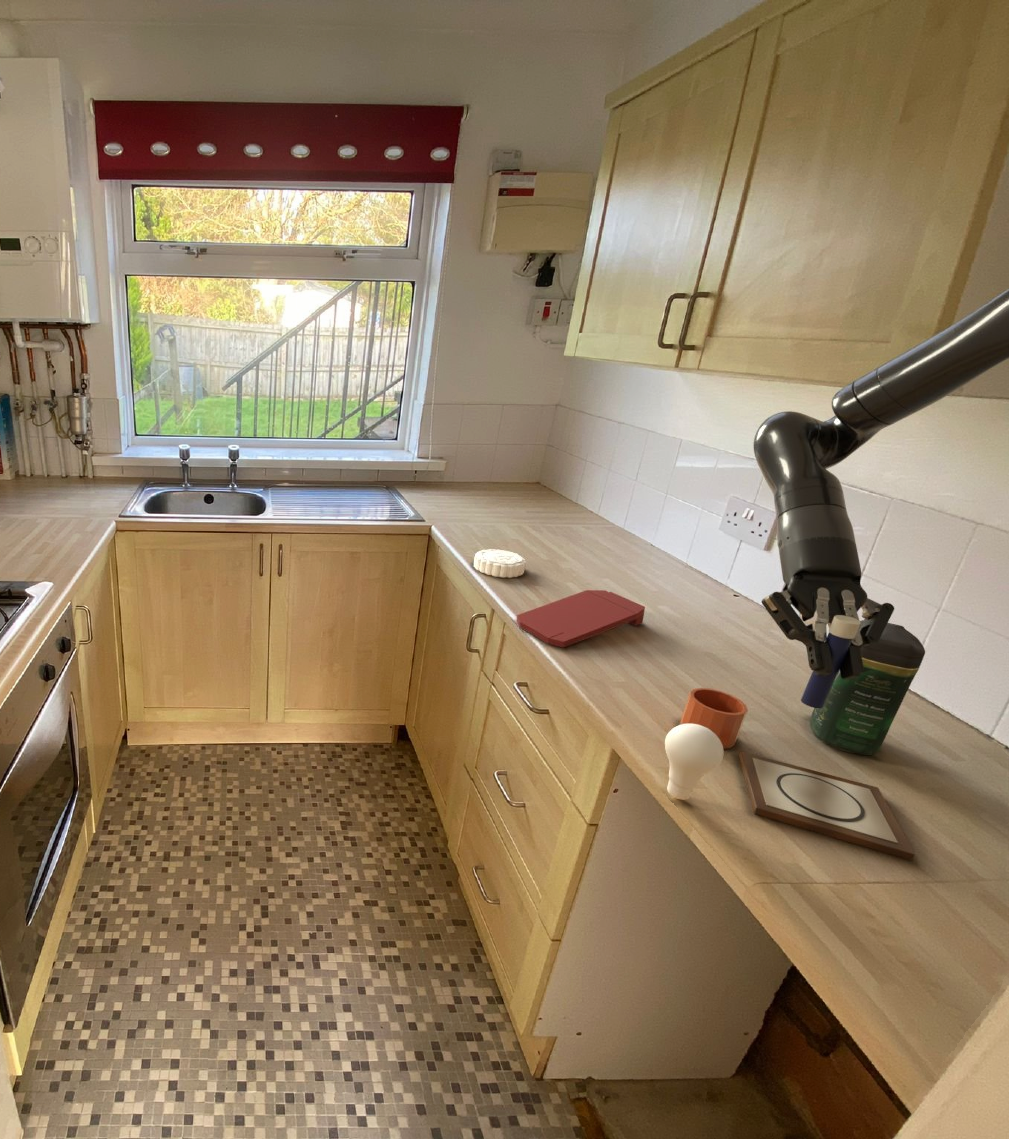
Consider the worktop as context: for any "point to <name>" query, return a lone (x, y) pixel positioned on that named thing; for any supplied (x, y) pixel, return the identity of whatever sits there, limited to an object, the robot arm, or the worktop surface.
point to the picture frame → (823, 804)
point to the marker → (839, 644)
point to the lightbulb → (690, 757)
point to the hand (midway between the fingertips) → (837, 675)
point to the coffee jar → (870, 694)
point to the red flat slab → (580, 617)
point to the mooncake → (499, 563)
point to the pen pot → (715, 713)
